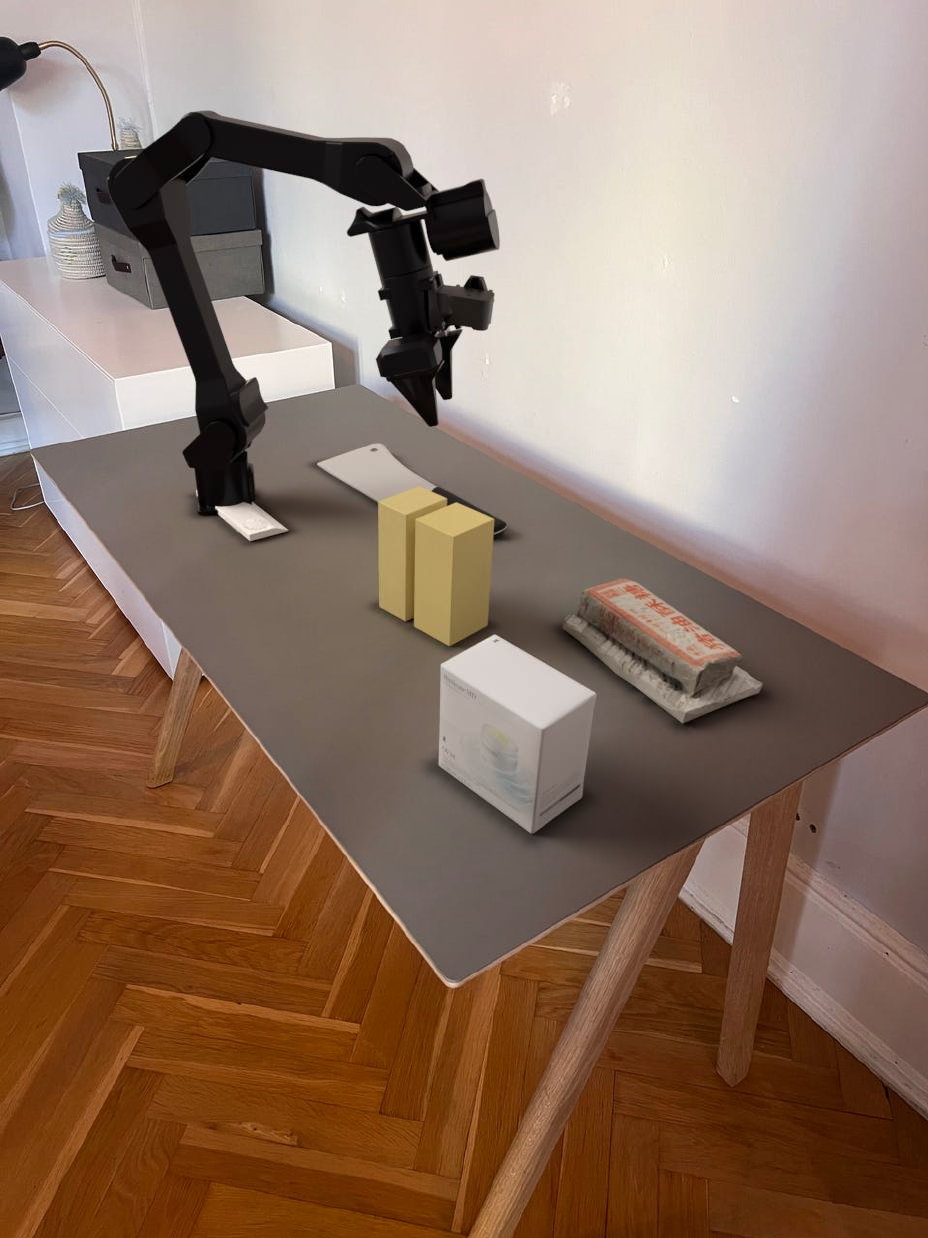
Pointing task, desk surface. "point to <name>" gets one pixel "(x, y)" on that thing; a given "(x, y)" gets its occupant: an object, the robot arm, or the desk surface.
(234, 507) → the white flat slab
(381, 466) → the kitchen cleaver
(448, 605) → the butter block
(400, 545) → the yellow rectangular block
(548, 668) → the cosmetics box
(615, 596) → the packaged product
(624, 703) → the desk surface
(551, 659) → the desk surface
